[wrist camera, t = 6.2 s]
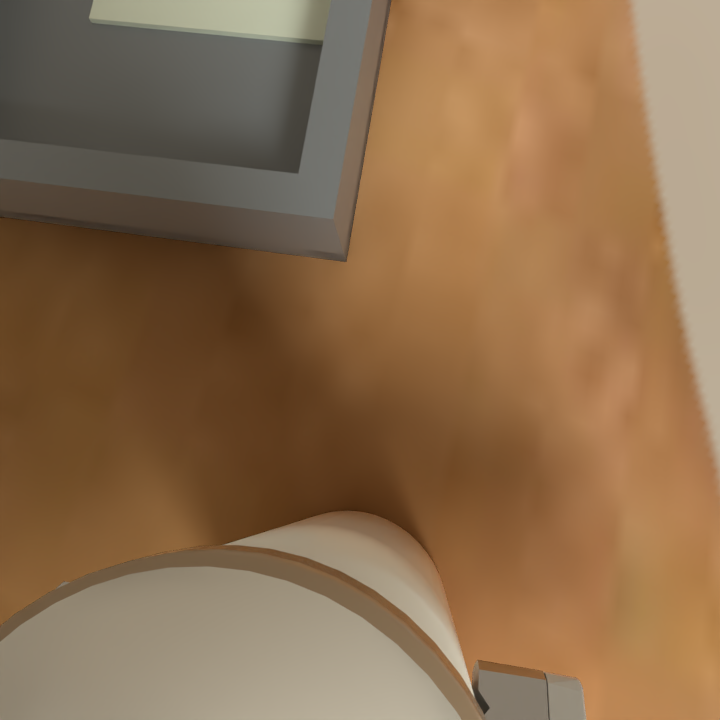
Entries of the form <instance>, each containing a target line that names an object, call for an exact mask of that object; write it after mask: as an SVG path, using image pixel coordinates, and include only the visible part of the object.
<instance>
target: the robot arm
mask: <svg viewBox="0 0 720 720" xmlns="http://www.w3.org/2000/svg"><path fill="white" fill-rule="evenodd" d="M68 583H70V582H65V581H64V582H63V583H61V584H60V585H59V586H58V587H57V588H59V587H61V586H63V585H66V584H68ZM57 588H56V589H57ZM472 689H473V693H474V696H475V699H476V701H477V703H478V704H479V706H480V708H481V709H482V711H483V713H484V715H485V718H486V720H586V713H585V703H584V694H583V688H582V685H581V683H580V681H579V680H578V679H577V678H576V677H570V676H565V675H559V674H554V673H548V672H543V671H541V670H535V669H529V668H523V667H517V666H511V665H505V664H499V663H494V662H488V661H482V660H477V661H476V662H475V666H474V669H473V677H472Z"/></svg>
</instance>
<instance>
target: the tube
mask: <svg viewBox="0 0 720 720" xmlns="http://www.w3.org/2000/svg"><path fill="white" fill-rule="evenodd" d="M0 720H486V718H485V715H484V713H483V711H482V709H481V708H480V706H479V704H478V703H477V701H476V699H475V696H474V693H473V689H472V686H471V682H470V679H469V675H468V672H467V668H466V664H465V661H464V657H463V654H462V650H461V647H460V643H459V639H458V636H457V632H456V629H455V625H454V622H453V618H452V615H451V611H450V607H449V604H448V600H447V597H446V593H445V590H444V587H443V583H442V580H441V577H440V575H439V573H438V571H437V569H436V566H435V564H434V563H433V561H432V560H431V558H430V556H429V555H428V553H427V552H426V551H425V550H424V548H423V547H422V546H421V545H420V543H419V542H418V541H417V540H416V539H414V538H413V537H412V536H411V535H410V534H409V533H408V532H406V531H405V530H404V529H402V528H401V527H400V526H398V525H396V524H394V523H393V522H391V521H389V520H387V519H384V518H382V517H379V516H377V515H373V514H369V513H365V512H358V511H334V512H329V513H324V514H320V515H317V516H314V517H311V518H308V519H304V520H301V521H298V522H295V523H292V524H288V525H285V526H282V527H279V528H276V529H272V530H269V531H266V532H263V533H260V534H256V535H253V536H250V537H247V538H244V539H240V540H237V541H234V542H231V543H228V544H224V545H216V546H196V547H190V548H184V549H179V550H173V551H167V552H162V553H158V554H154V555H151V556H147V557H143V558H139V559H136V560H132V561H128V562H125V563H122V564H118V565H115V566H112V567H109V568H106V569H102V570H99V571H96V572H93V573H90V574H87V575H85V576H83V577H81V578H78V579H76V580H74V581H72V582H70V583H68V584H66V585H63V586H61V587H59V588H57V589H55V590H53V591H51V592H49V593H47V594H46V595H44V596H43V597H41V598H39V599H38V600H36V601H35V602H33V603H32V604H30V605H28V606H27V607H25V608H24V609H22V610H21V611H19V612H17V613H16V614H14V615H13V616H12V617H11V618H9V619H8V620H7V621H6V622H5V623H3V624H2V625H1V626H0Z"/></svg>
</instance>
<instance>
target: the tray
mask: <svg viewBox="0 0 720 720" xmlns="http://www.w3.org/2000/svg"><path fill="white" fill-rule="evenodd" d="M390 5H391V0H0V217H6V218H14V219H22V220H29V221H37V222H45V223H52V224H60V225H68V226H75V227H83V228H91V229H98V230H106V231H114V232H121V233H129V234H137V235H144V236H152V237H160V238H168V239H175V240H183V241H191V242H198V243H206V244H214V245H221V246H229V247H237V248H244V249H252V250H260V251H267V252H275V253H283V254H290V255H298V256H306V257H313V258H321V259H329V260H336V261H344V262H346V261H347V255H348V249H349V243H350V237H351V232H352V226H353V220H354V214H355V208H356V202H357V197H358V191H359V185H360V179H361V173H362V168H363V162H364V156H365V150H366V144H367V139H368V133H369V127H370V121H371V115H372V110H373V104H374V98H375V92H376V86H377V80H378V75H379V69H380V63H381V57H382V51H383V46H384V40H385V34H386V28H387V22H388V17H389V11H390Z"/></svg>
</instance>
